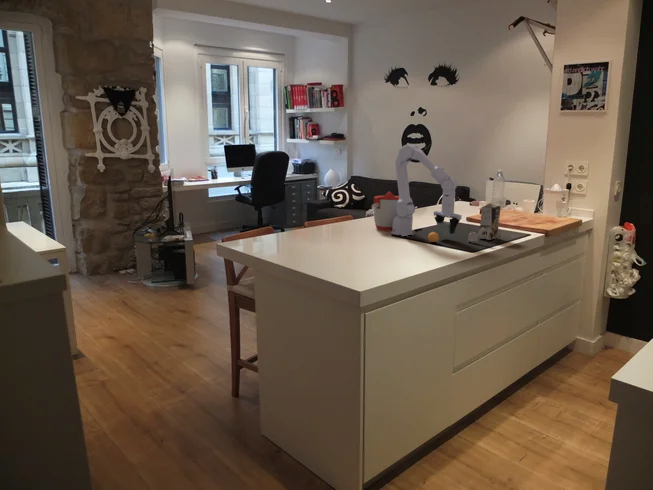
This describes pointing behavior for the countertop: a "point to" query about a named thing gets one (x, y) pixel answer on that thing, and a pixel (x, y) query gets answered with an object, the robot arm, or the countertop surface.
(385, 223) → the citrus juicer
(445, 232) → the grey-green cube
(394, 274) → the countertop surface
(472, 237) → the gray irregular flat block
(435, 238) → the ball
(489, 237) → the coffee box
